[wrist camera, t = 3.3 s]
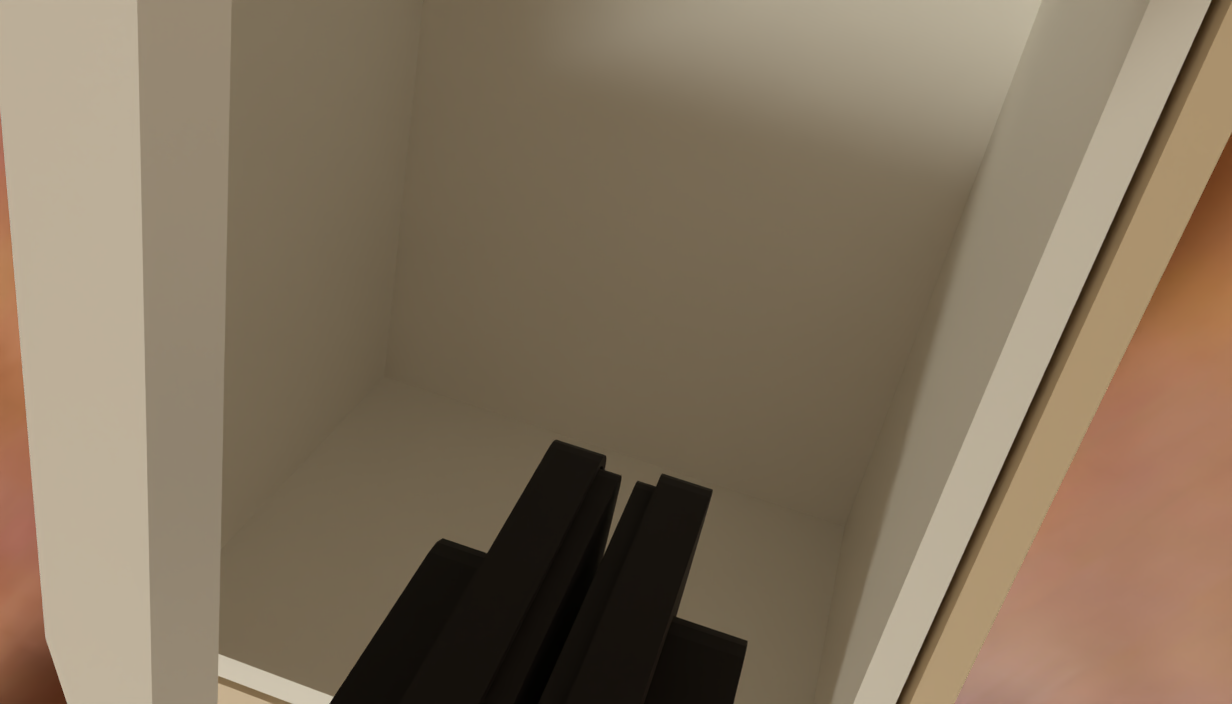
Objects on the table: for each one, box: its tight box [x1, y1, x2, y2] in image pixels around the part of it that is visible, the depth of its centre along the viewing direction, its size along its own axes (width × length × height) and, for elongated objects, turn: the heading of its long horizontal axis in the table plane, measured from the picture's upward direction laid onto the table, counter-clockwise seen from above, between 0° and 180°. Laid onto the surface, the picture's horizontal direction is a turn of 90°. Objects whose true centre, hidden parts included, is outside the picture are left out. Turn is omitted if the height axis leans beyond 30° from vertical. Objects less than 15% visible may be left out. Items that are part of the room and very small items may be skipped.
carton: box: [218, 0, 1232, 704], centre depth 21 cm, size 15×22×11 cm
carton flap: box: [0, 0, 232, 704], centre depth 15 cm, size 7×19×1 cm
